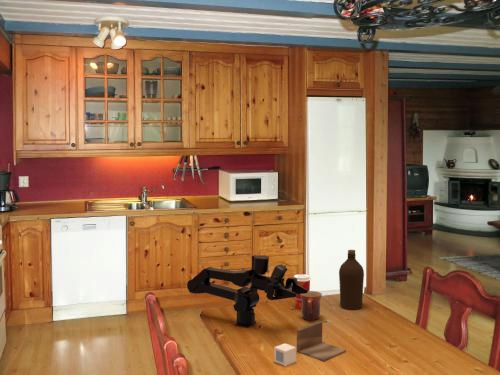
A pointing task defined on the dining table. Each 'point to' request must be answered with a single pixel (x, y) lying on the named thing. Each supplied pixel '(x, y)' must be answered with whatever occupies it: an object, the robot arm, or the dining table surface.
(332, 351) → the bookend
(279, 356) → the letter cube
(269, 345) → the dining table surface
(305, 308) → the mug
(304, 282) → the paper cup
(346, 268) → the olive oil
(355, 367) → the dining table surface
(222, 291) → the robot arm
